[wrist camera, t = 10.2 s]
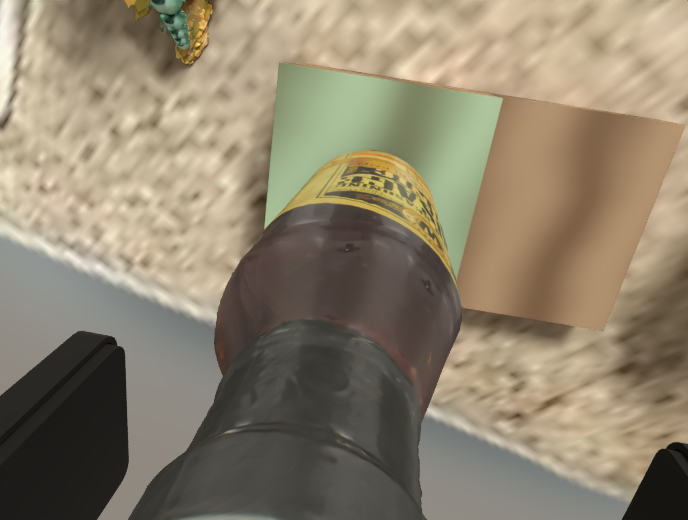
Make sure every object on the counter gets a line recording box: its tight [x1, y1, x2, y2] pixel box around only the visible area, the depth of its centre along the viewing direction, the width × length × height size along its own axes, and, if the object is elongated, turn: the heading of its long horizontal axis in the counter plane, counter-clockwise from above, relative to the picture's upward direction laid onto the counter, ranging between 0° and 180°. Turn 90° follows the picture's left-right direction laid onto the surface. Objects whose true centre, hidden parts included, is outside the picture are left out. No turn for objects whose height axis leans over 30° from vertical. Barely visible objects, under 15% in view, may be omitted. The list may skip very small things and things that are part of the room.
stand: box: [264, 63, 685, 331], centre depth 27 cm, size 20×12×6 cm, turn 82°
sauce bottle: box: [128, 150, 462, 520], centre depth 15 cm, size 7×6×20 cm
